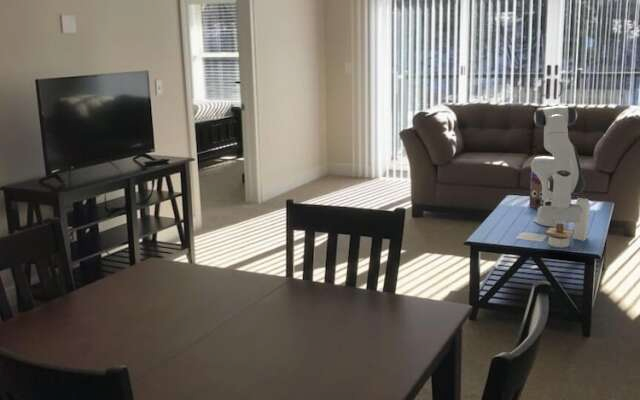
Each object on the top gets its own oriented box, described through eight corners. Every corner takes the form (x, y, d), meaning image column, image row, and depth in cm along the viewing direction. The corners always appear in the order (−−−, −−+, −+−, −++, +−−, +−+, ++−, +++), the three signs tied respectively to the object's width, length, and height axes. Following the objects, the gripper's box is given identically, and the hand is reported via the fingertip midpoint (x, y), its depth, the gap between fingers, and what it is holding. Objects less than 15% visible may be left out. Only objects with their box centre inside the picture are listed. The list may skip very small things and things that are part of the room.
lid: (550, 229, 364) (550, 220, 363) (574, 232, 358) (574, 223, 357) (544, 234, 354) (545, 225, 353) (569, 237, 348) (569, 228, 347)
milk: (576, 236, 373) (578, 196, 368) (587, 238, 369) (590, 198, 364) (572, 239, 368) (575, 198, 363) (584, 240, 364) (587, 200, 360)
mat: (522, 232, 381) (522, 232, 381) (548, 236, 374) (548, 235, 374) (514, 238, 370) (515, 238, 370) (541, 242, 363) (541, 241, 362)
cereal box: (529, 206, 441) (531, 169, 436) (531, 205, 445) (533, 168, 439) (557, 209, 432) (559, 172, 427) (559, 208, 436) (561, 170, 430)
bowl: (551, 242, 364) (551, 232, 363) (570, 244, 359) (571, 235, 358) (546, 246, 356) (547, 237, 354) (566, 249, 351) (567, 239, 350)
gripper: (584, 203, 350) (582, 230, 353) (543, 199, 360) (541, 225, 363) (581, 206, 344) (579, 232, 347) (539, 201, 355) (538, 227, 358)
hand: (559, 228), depth 355 cm, fingers closed on lid, 3 cm apart
